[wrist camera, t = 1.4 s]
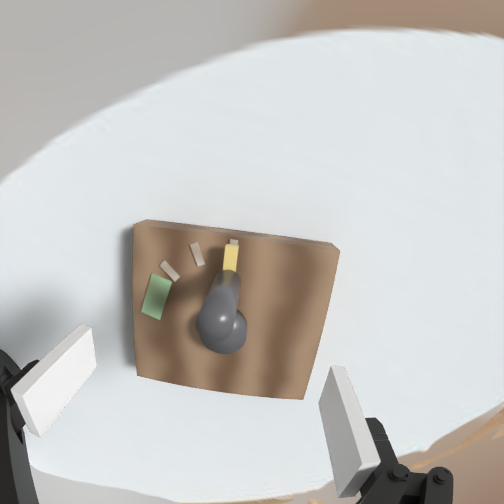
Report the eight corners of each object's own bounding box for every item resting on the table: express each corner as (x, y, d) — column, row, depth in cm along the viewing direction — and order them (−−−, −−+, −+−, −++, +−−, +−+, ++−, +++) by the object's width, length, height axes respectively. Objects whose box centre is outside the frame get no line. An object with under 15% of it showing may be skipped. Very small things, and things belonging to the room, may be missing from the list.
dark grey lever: (201, 341, 33) (178, 406, 22) (209, 238, 30) (180, 271, 19) (244, 347, 33) (237, 416, 22) (258, 245, 30) (257, 282, 19)
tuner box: (146, 359, 39) (136, 376, 34) (147, 219, 34) (132, 224, 30) (300, 381, 39) (303, 401, 34) (331, 243, 34) (340, 251, 30)
